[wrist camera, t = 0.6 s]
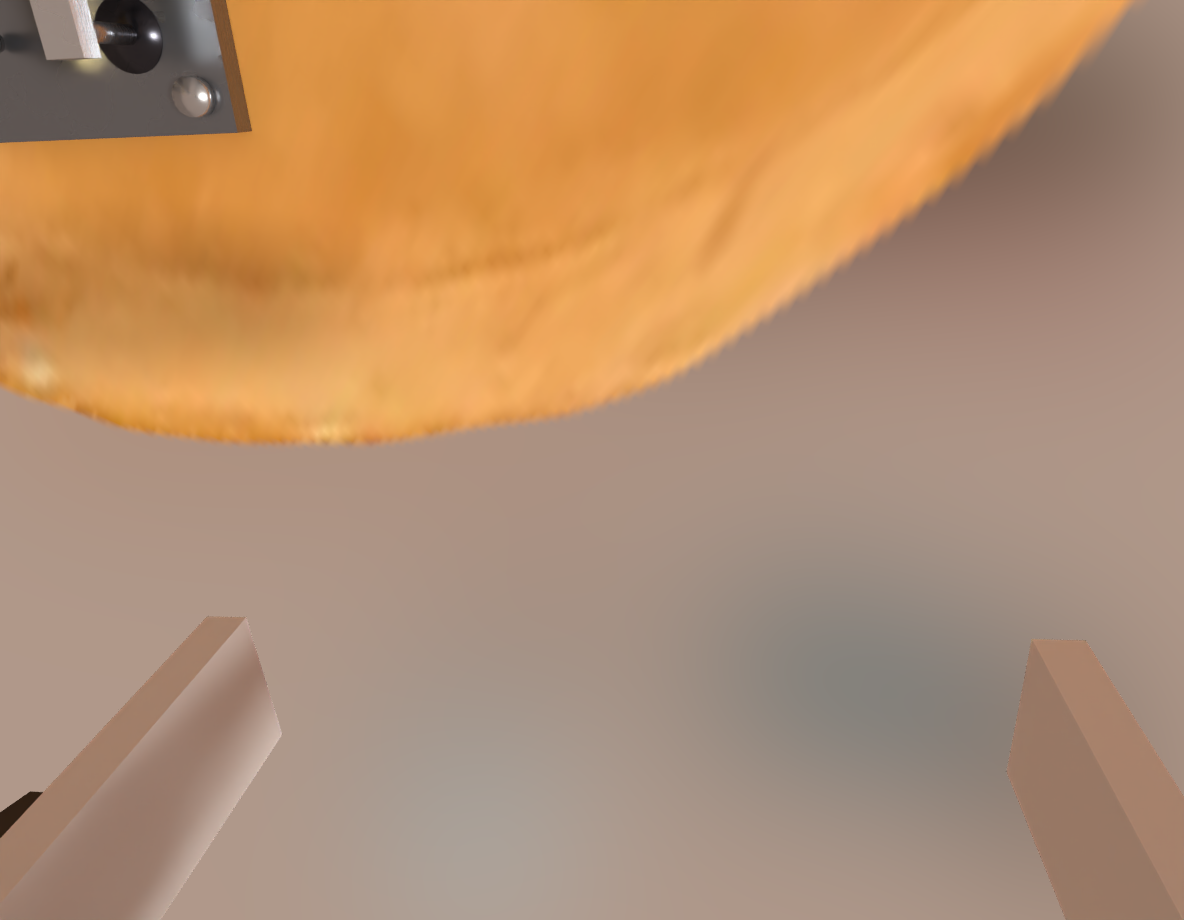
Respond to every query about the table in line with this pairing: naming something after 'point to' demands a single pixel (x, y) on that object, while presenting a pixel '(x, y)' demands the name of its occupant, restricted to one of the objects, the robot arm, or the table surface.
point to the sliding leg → (2, 44)
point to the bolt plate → (124, 75)
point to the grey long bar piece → (75, 30)
